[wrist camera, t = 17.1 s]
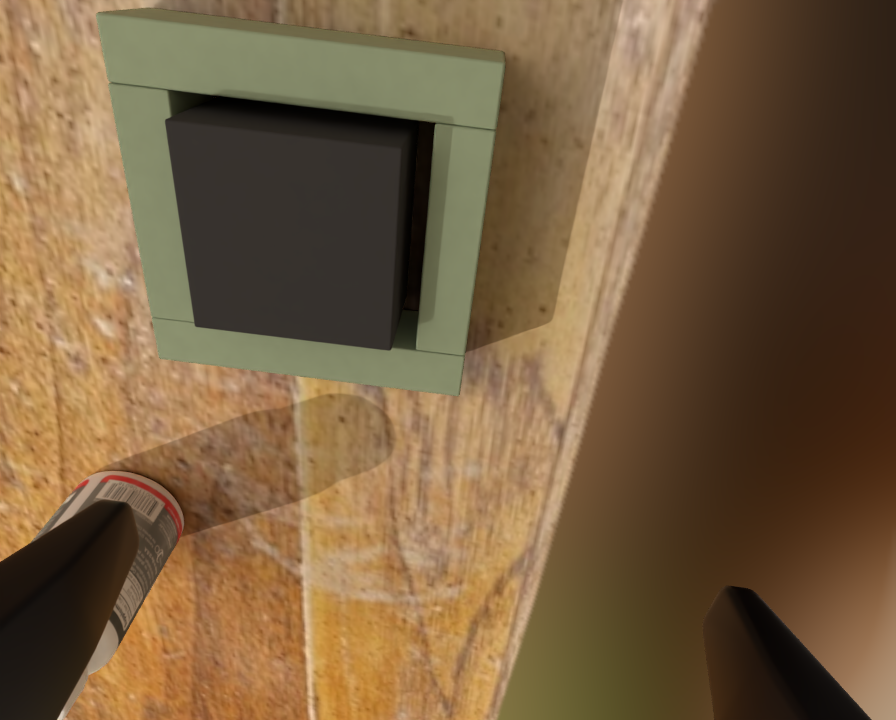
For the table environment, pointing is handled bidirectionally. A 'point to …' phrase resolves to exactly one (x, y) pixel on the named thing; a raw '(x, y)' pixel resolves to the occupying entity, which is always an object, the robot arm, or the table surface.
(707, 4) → the table surface
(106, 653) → the pill bottle
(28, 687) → the robot arm
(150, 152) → the green square frame
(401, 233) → the black block
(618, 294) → the table surface
